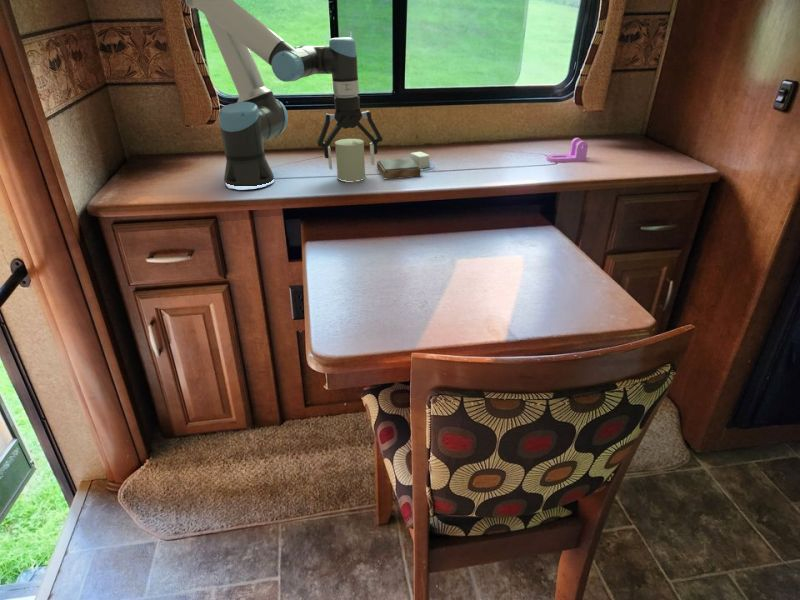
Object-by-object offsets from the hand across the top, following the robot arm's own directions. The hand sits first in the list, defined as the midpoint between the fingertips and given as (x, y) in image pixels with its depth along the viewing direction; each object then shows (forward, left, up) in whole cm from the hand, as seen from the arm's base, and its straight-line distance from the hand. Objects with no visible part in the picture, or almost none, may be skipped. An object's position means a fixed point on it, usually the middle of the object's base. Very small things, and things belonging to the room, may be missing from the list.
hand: (351, 166), depth 166 cm
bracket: (+76, +1, -4) cm, 76 cm away
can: (0, 0, -4) cm, 4 cm away
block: (+25, +8, -4) cm, 26 cm away
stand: (+16, +2, -4) cm, 16 cm away
